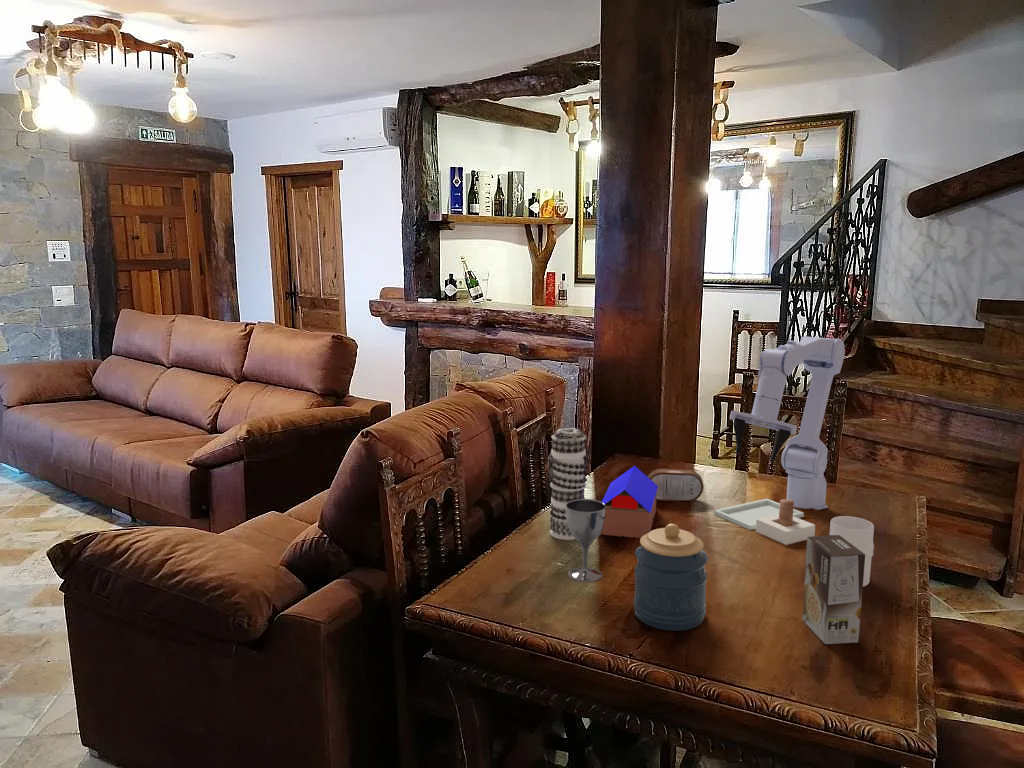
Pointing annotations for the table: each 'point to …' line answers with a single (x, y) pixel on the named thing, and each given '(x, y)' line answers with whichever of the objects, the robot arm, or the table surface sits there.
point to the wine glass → (585, 532)
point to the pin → (786, 512)
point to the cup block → (785, 529)
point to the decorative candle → (566, 477)
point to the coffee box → (833, 589)
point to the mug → (856, 537)
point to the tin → (677, 484)
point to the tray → (752, 512)
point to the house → (630, 505)
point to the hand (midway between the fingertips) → (754, 457)
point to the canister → (670, 579)
